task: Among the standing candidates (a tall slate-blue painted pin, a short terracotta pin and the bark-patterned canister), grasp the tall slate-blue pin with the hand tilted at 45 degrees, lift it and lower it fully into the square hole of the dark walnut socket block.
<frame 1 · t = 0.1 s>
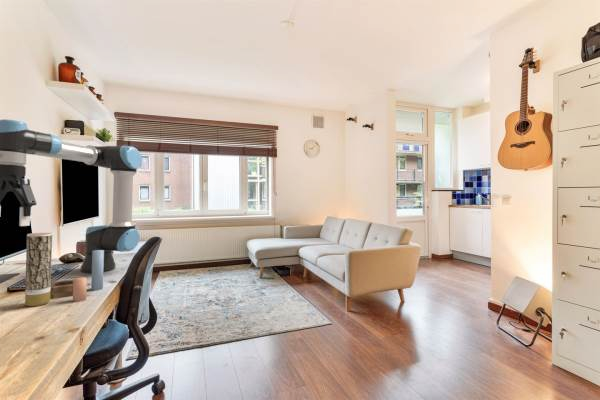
hand: (9, 224, 105), 28 cm above the table, tool pointing down, fingers open, 13 cm apart
slate-blue pin: (97, 289, 124), on the table
walnut socket block: (63, 293, 117), on the table
eiffel tower figurine: (43, 274, 146), on the table
terracotta pin: (79, 300, 111), on the table
bark-patterned canister: (37, 304, 106), on the table
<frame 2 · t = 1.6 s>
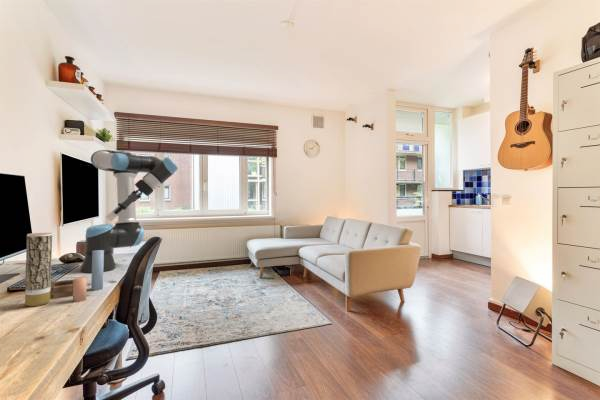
hand: (108, 218, 128), 29 cm above the table, tool tilted 45°, fingers open, 13 cm apart
nothing on the table moved.
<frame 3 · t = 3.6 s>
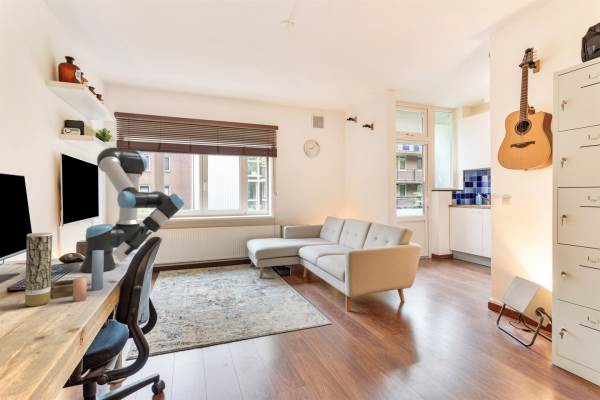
hand: (116, 257, 127), 13 cm above the table, tool tilted 45°, fingers open, 13 cm apart
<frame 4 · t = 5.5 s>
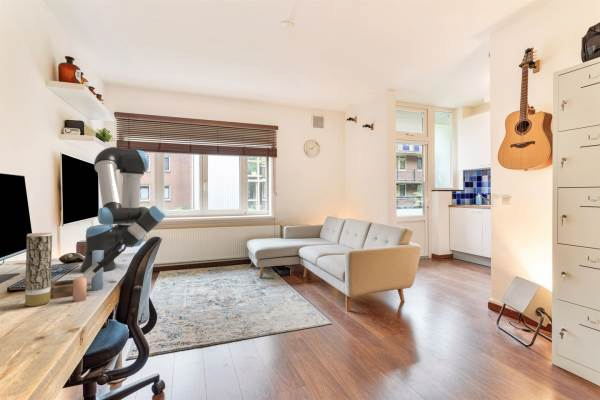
hand: (86, 276, 122), 6 cm above the table, tool tilted 45°, fingers closed on slate-blue pin, 4 cm apart
slate-blue pin: (97, 289, 124), on the table, touching gripper
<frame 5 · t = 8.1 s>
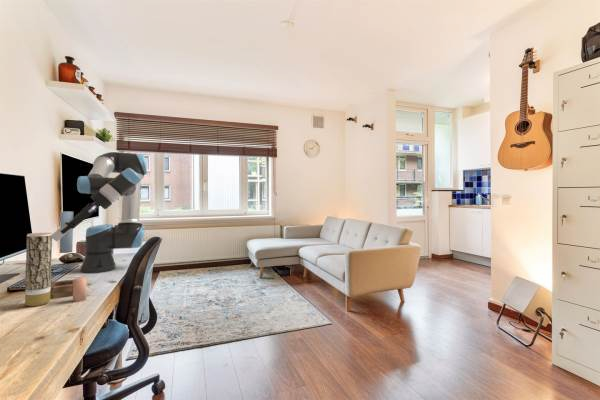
hand: (53, 238, 115), 22 cm above the table, tool tilted 45°, fingers closed on slate-blue pin, 4 cm apart
slate-blue pin: (65, 252, 117), point 16 cm above the table, touching gripper
when the fingers open (7 cm above the table, at t = 10.6 s): slate-blue pin drops 1 cm, resting in walnut socket block.
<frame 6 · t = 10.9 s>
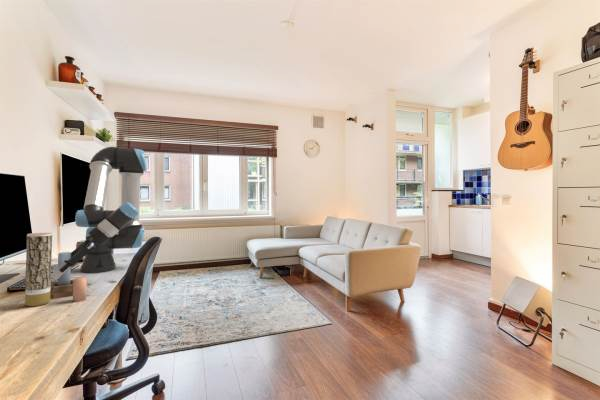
hand: (53, 275, 115), 8 cm above the table, tool tilted 45°, fingers open, 8 cm apart
slate-blue pin: (63, 293, 117), resting in walnut socket block
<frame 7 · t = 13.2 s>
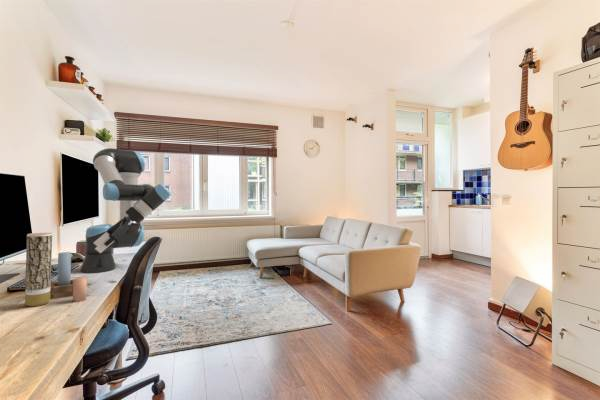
hand: (96, 247, 123), 17 cm above the table, tool tilted 45°, fingers open, 13 cm apart
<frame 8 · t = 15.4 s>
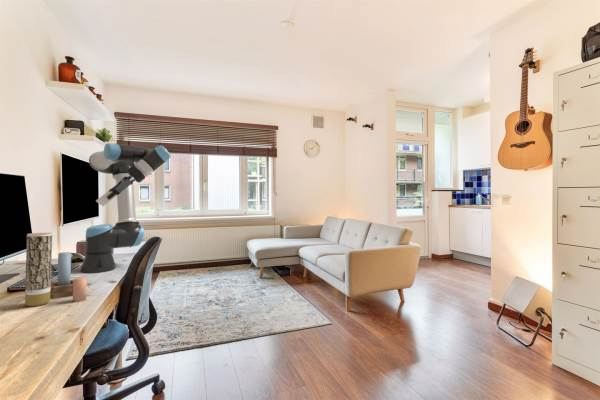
hand: (99, 203, 127), 36 cm above the table, tool tilted 45°, fingers open, 13 cm apart
at the end: slate-blue pin 0.1 cm off-centre on the walnut socket block, point 0.0 cm above the walnut socket block's base; slate-blue pin tilted 0°; the gripper is holding nothing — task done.
